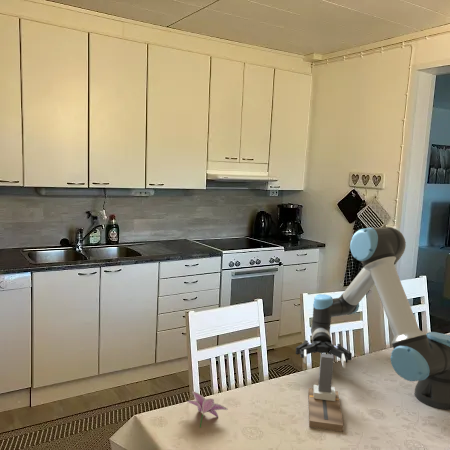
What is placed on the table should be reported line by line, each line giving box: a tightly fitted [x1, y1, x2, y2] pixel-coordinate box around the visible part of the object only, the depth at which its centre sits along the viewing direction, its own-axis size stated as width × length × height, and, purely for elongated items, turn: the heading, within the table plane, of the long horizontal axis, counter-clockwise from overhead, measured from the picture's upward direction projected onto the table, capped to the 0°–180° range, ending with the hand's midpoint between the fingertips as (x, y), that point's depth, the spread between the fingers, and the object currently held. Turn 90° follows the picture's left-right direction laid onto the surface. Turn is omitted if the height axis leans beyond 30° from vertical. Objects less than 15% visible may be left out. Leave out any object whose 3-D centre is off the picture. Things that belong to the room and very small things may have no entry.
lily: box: [186, 390, 229, 428], centre depth 141 cm, size 12×12×10 cm
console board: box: [307, 387, 344, 432], centre depth 151 cm, size 22×10×2 cm, turn 171°
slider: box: [313, 353, 336, 401], centre depth 156 cm, size 6×7×14 cm
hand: (324, 362), depth 164 cm, fingers open, 13 cm apart
